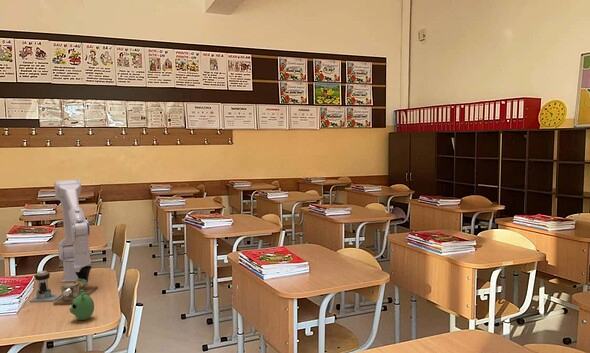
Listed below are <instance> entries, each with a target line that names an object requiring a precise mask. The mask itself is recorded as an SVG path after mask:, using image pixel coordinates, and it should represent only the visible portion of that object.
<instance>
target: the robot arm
mask: <svg viewBox="0 0 590 353" xmlns="http://www.w3.org/2000/svg"><path fill="white" fill-rule="evenodd" d="M81 192H82V183H81V180H80V179H69V180H66V179H65V180H56V181H55V182H54V197H55V199H56V200H57V201H60V204H61V210H62V221H63V223H62V224H63V231H64V237H63V239H61V240H60V241H59V242H58V246H57V247H58V250H57V251H58V258H59V260H60V261H62V264H63V276H64V277H63V279H61V280H60V283H64V282H66V283H67V282H70V283H72V282H76V280H77V279H79V278H85V279H86V281H87V284H86V286H87V285H88V281H89V275H90V271H91V269H92V265H91V263H92V259H91V257H90V239H89V236H90V233H91V227H90V223H89V221H88V220H87V219H86V217H85V213H84V209H83V208H82V207H80V205H79V204H80V203H79V196H80V194H81Z"/></svg>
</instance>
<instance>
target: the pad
mask: <svg viewBox="0 0 590 353" xmlns="http://www.w3.org/2000/svg"><path fill="white" fill-rule="evenodd" d="M54 294H55V295H54ZM51 295H52V296H50V297H49V298H41V299H37V296H35V297H33V298H32V299H31V300H29V302H30V303H44V302H45V303H46V302H55V301H56V300H58V299H59V298H61V297H62V293H51Z"/></svg>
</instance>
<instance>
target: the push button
mask: <svg viewBox="0 0 590 353" xmlns="http://www.w3.org/2000/svg"><path fill="white" fill-rule="evenodd" d="M50 275H51V273H50V272H48V271H47V270H41V271H38V272H36V274H34V278H35V279H34V280H35V281H36V282H37V291H36V292H35V297H37V299H41V298H49V297H50V296H52V295H51V294H54V295H55V294H56V292H55V291H52V290H51V289H50V288H49V278H50Z"/></svg>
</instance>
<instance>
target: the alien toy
mask: <svg viewBox="0 0 590 353" xmlns="http://www.w3.org/2000/svg"><path fill="white" fill-rule="evenodd" d="M79 292H80V295H79V296H77V297H76V298H74V300H73V302H72V305H71V307H70V308H69V312H70V314H73V315H74V316H75V319H77V320H79V321H86V320H88V319H89V318H91V317H92V315H93V314H94V311H95V302H94V299H93V298H92V297H91V295H85V293H84V290H80V291H79Z"/></svg>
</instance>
